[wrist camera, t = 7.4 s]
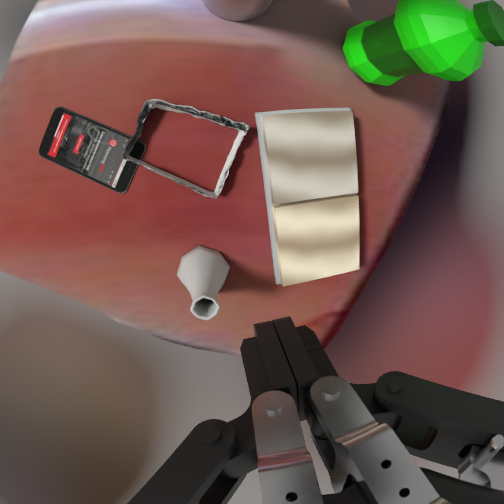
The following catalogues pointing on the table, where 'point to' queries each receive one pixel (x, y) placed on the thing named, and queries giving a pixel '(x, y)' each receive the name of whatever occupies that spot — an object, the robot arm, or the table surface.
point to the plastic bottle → (424, 41)
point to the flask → (203, 279)
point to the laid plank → (310, 155)
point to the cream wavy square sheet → (317, 238)
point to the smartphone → (90, 149)
